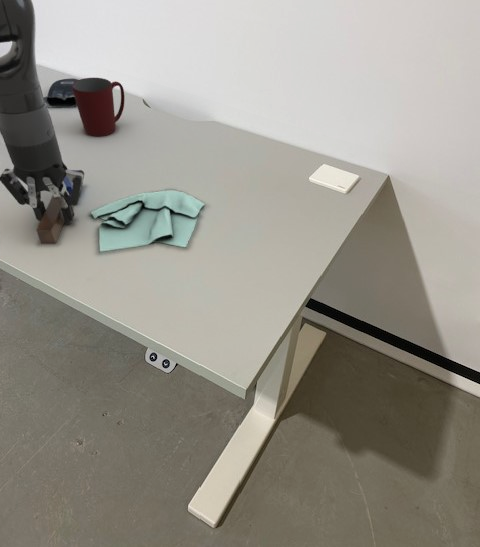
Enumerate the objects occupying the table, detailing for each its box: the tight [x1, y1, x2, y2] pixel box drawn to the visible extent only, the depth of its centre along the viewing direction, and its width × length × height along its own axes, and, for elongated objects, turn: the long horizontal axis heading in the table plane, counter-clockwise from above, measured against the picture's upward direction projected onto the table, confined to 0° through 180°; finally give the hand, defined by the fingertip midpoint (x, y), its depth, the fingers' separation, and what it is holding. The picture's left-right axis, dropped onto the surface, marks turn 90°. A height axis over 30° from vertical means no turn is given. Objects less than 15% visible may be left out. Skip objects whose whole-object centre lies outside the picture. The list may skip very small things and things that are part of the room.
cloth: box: [91, 189, 206, 253], centre depth 79 cm, size 20×22×2 cm
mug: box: [72, 77, 125, 137], centre depth 102 cm, size 12×9×11 cm
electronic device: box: [43, 77, 79, 108], centre depth 117 cm, size 9×6×15 cm
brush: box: [36, 169, 84, 245], centre depth 78 cm, size 4×18×4 cm, turn 3°
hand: (56, 220), depth 77 cm, fingers open, 3 cm apart
